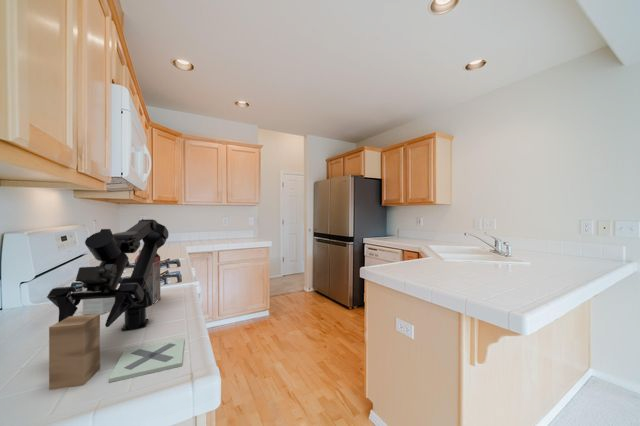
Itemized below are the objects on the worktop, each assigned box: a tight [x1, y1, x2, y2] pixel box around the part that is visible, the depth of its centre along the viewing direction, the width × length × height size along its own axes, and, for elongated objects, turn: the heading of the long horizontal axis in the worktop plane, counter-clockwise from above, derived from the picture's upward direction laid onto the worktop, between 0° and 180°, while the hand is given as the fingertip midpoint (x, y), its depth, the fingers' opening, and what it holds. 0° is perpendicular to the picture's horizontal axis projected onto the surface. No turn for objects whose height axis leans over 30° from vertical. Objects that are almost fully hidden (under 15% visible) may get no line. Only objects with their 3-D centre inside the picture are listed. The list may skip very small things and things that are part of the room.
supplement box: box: [81, 282, 115, 315], centre depth 99 cm, size 7×7×13 cm
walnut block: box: [48, 314, 101, 391], centre depth 58 cm, size 6×6×13 cm
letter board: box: [108, 337, 185, 383], centre depth 65 cm, size 14×14×1 cm
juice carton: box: [134, 249, 161, 304], centre depth 108 cm, size 7×7×22 cm
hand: (83, 328), depth 60 cm, fingers open, 9 cm apart
